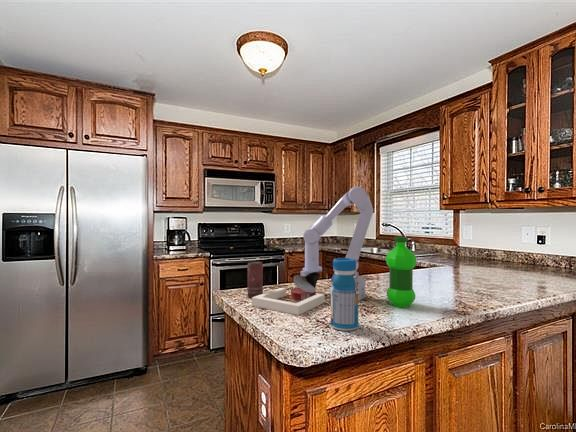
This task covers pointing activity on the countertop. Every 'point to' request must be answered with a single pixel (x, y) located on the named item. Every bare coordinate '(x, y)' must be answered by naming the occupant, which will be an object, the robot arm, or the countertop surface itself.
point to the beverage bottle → (344, 295)
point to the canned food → (302, 289)
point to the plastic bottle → (401, 274)
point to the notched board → (298, 308)
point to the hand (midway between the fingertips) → (311, 290)
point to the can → (255, 278)
